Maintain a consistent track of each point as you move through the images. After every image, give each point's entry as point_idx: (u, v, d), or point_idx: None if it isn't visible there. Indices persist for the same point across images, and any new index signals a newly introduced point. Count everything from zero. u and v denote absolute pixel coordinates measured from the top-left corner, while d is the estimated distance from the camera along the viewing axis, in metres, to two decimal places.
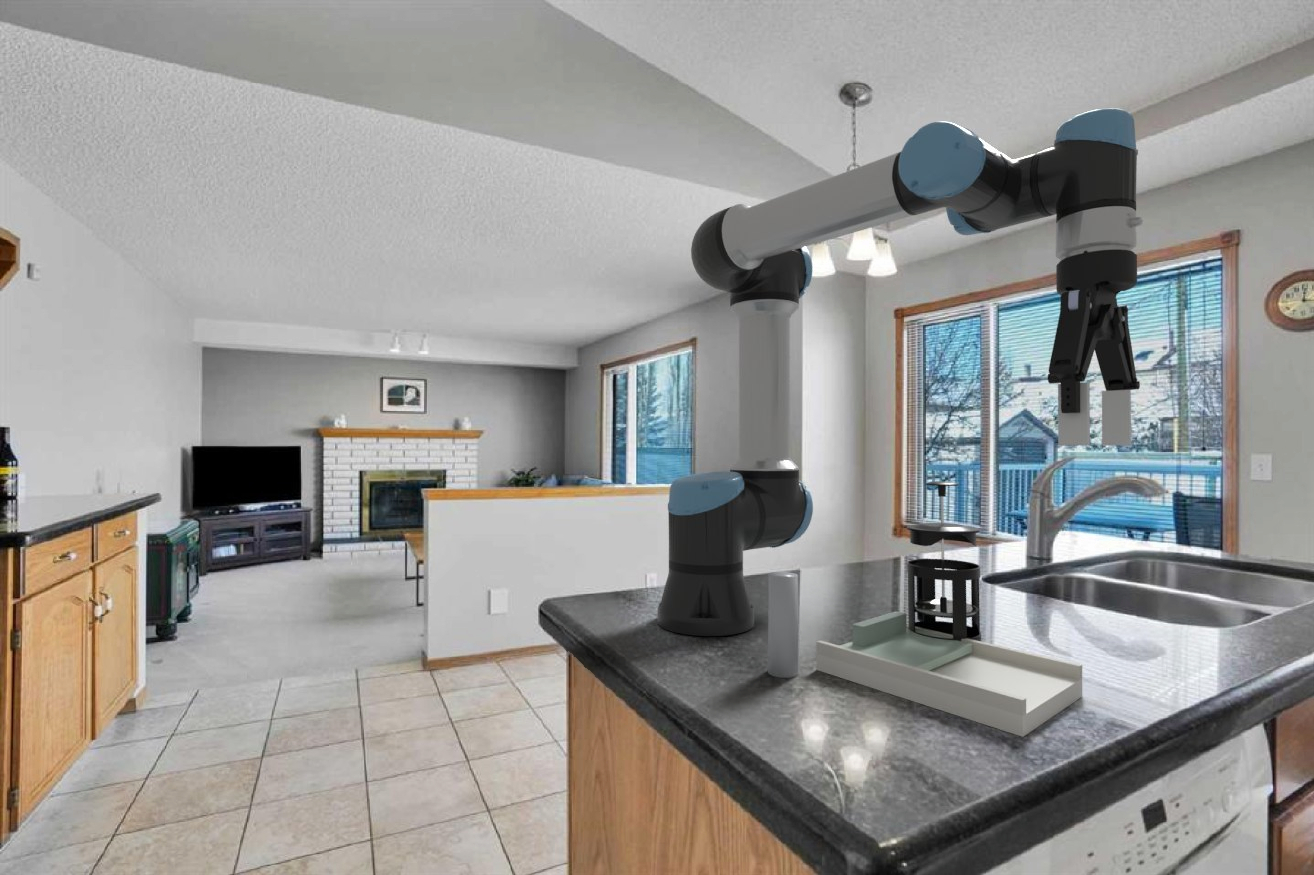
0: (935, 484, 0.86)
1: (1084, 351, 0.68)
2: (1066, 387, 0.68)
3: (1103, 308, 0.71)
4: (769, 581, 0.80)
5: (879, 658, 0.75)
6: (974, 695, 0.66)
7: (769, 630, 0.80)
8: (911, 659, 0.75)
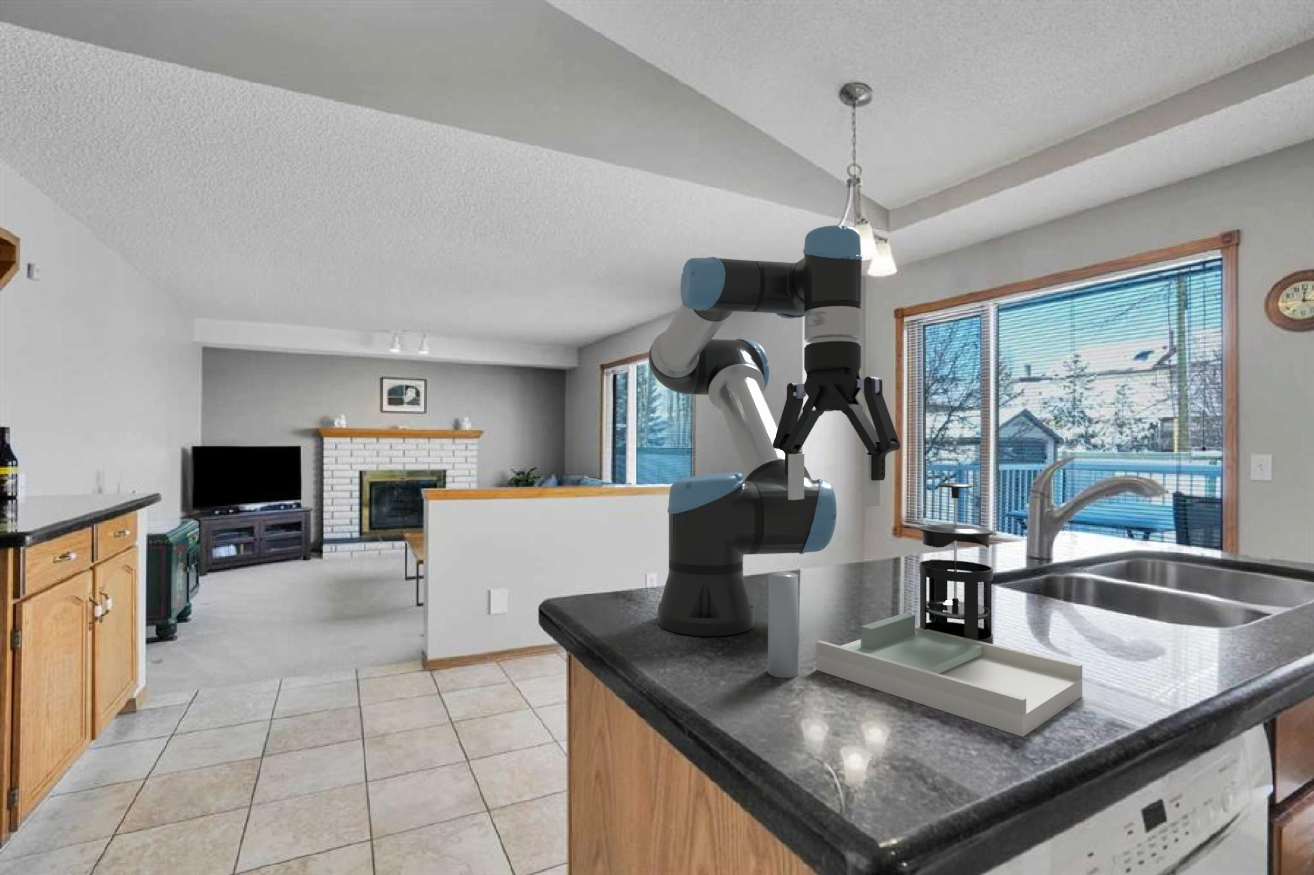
0: (949, 486, 0.86)
1: None
2: None
3: None
4: (769, 581, 0.80)
5: (879, 658, 0.75)
6: (974, 695, 0.66)
7: (769, 630, 0.80)
8: (921, 661, 0.74)
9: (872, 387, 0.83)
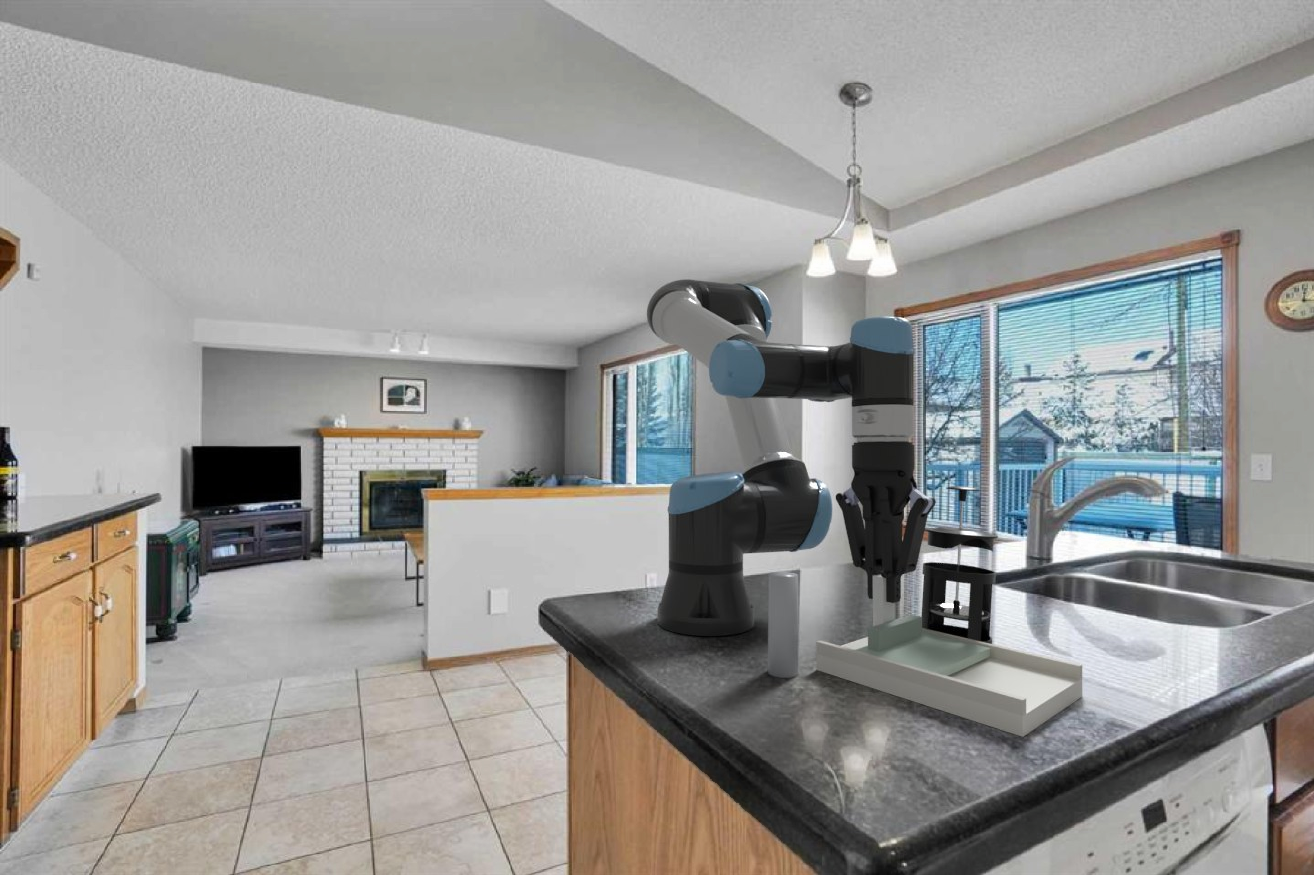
0: (958, 488, 0.87)
1: None
2: None
3: None
4: (769, 581, 0.80)
5: (879, 658, 0.75)
6: (974, 695, 0.66)
7: (769, 630, 0.80)
8: (929, 664, 0.73)
9: (921, 511, 0.78)
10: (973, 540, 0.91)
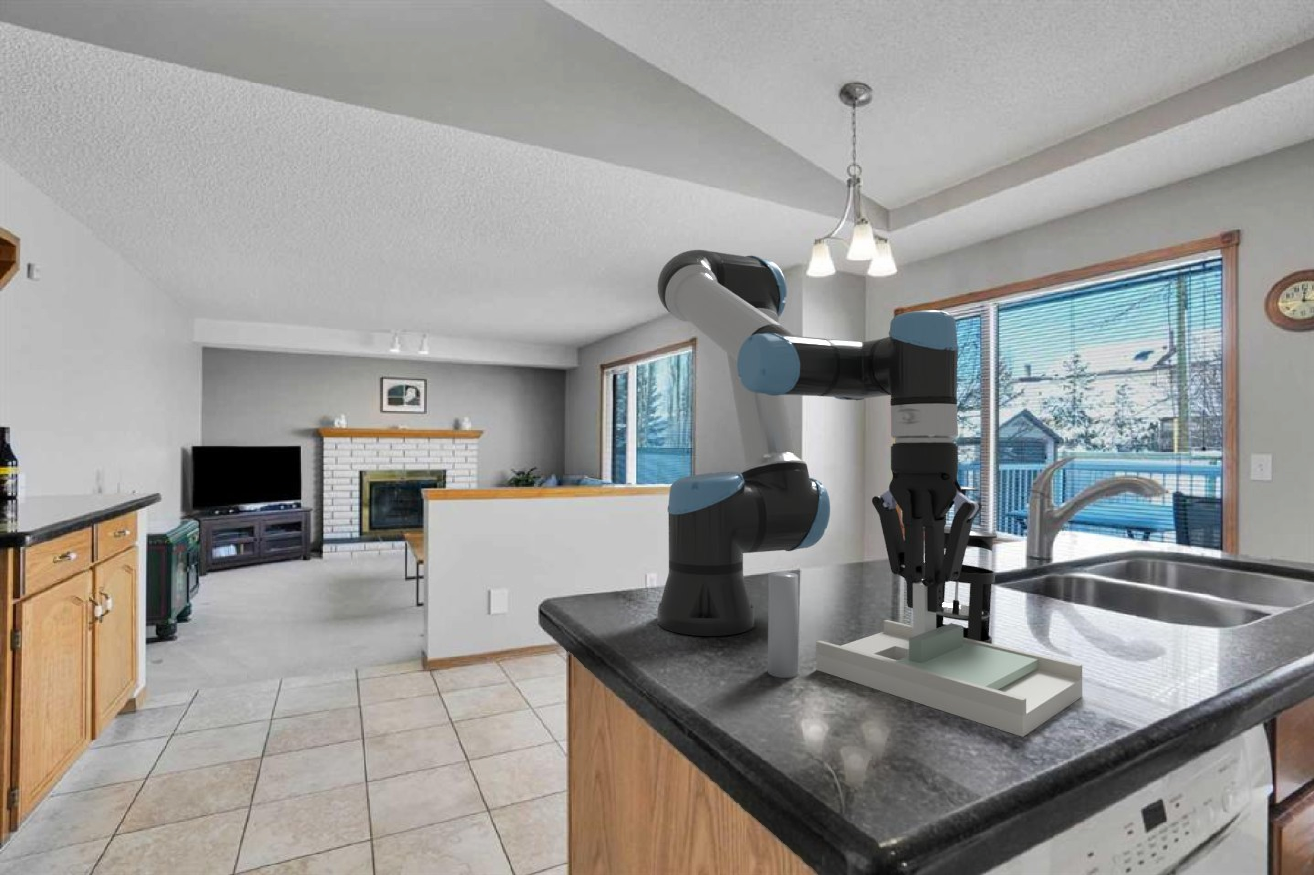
0: None
1: None
2: None
3: None
4: (769, 581, 0.80)
5: (879, 658, 0.75)
6: (974, 695, 0.66)
7: (769, 630, 0.80)
8: (977, 677, 0.69)
9: (967, 516, 0.74)
10: (972, 540, 0.91)
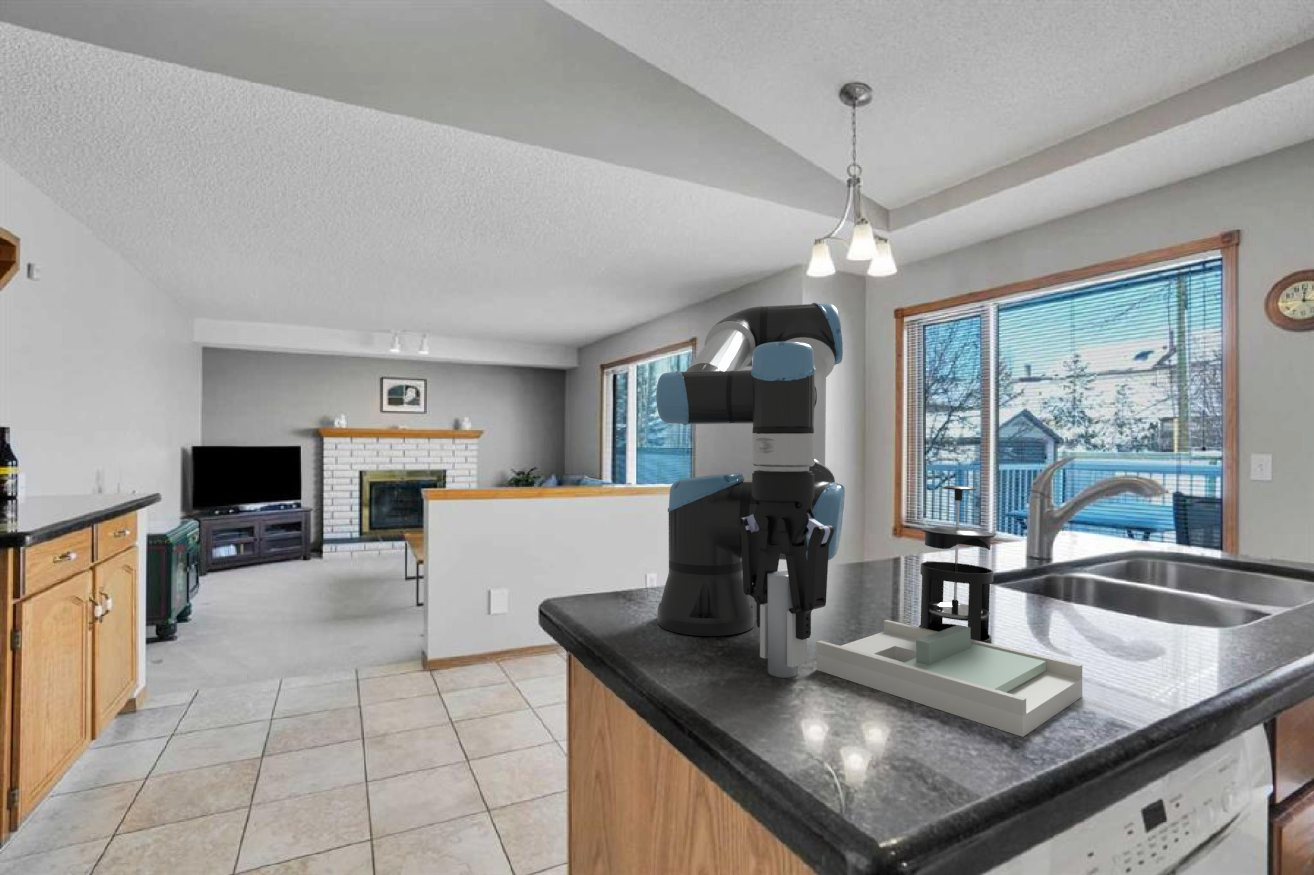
0: (954, 488, 0.87)
1: None
2: None
3: None
4: (768, 581, 0.80)
5: (879, 658, 0.75)
6: (974, 695, 0.66)
7: (769, 630, 0.80)
8: (985, 679, 0.69)
9: (819, 540, 0.75)
10: (969, 538, 0.91)
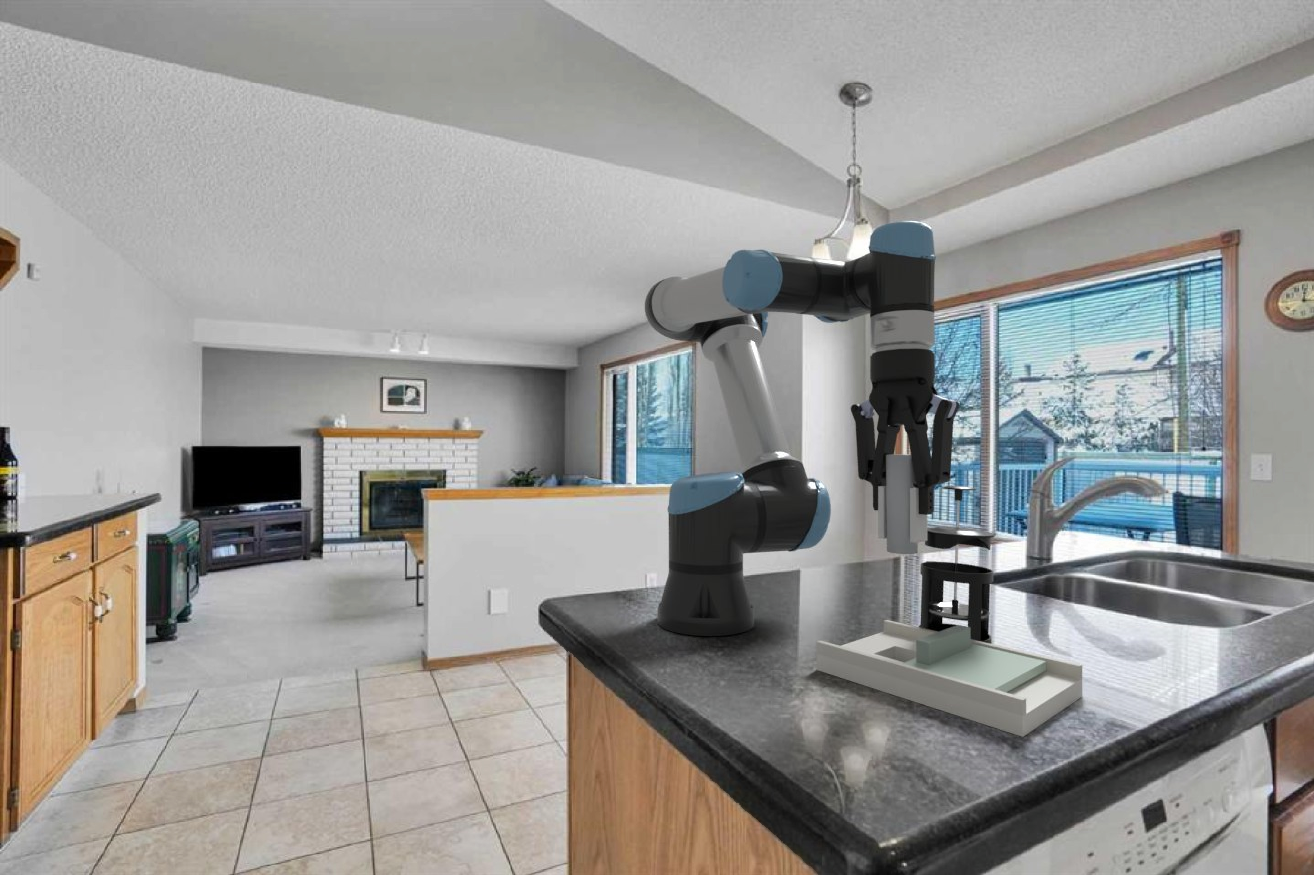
0: (954, 488, 0.87)
1: None
2: None
3: None
4: (888, 460, 0.80)
5: (879, 658, 0.75)
6: (974, 695, 0.66)
7: (889, 509, 0.80)
8: (985, 679, 0.69)
9: (946, 413, 0.76)
10: (969, 538, 0.91)
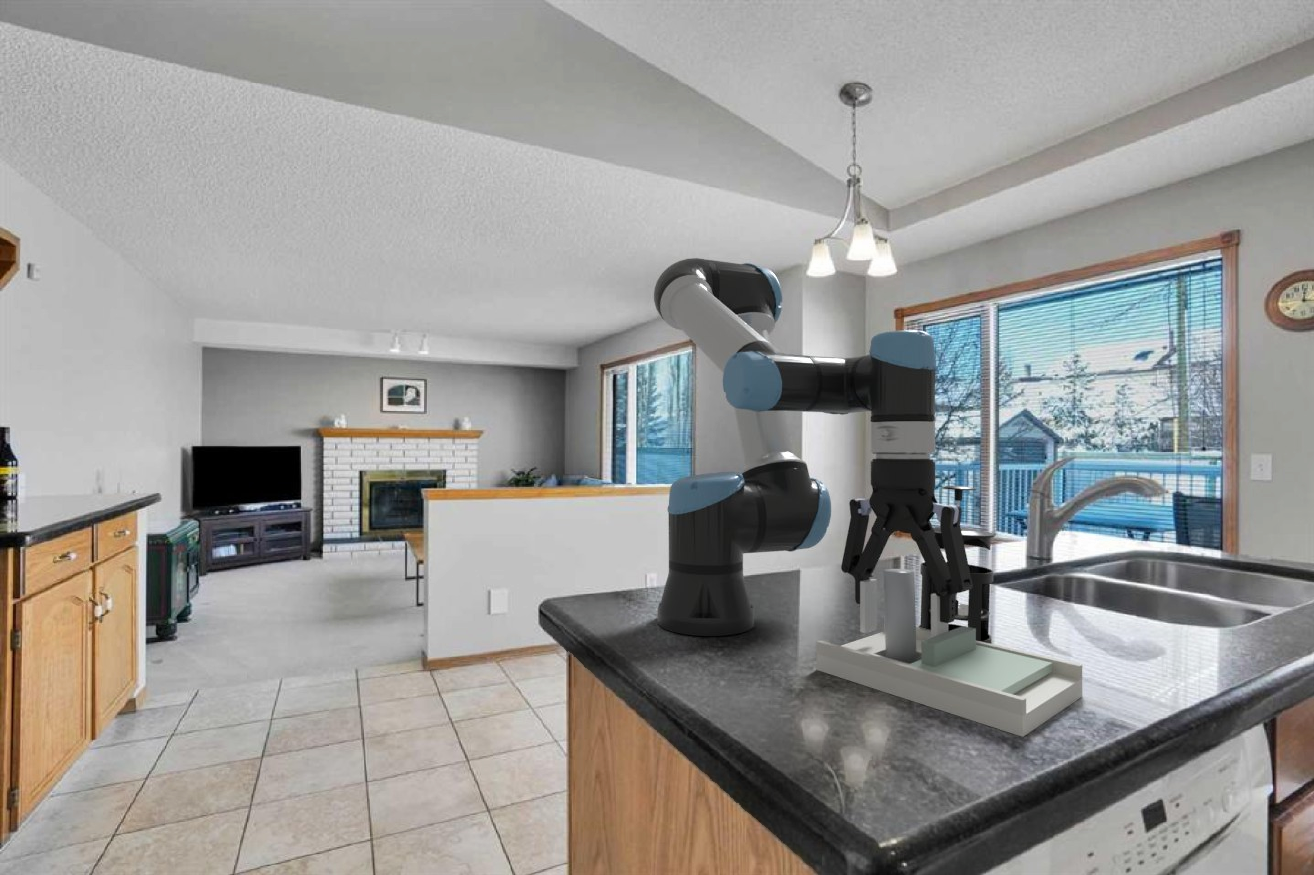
0: (954, 488, 0.87)
1: None
2: None
3: None
4: (886, 578, 0.81)
5: (879, 658, 0.75)
6: (974, 695, 0.66)
7: (887, 626, 0.80)
8: (991, 681, 0.68)
9: (951, 519, 0.75)
10: (969, 538, 0.91)
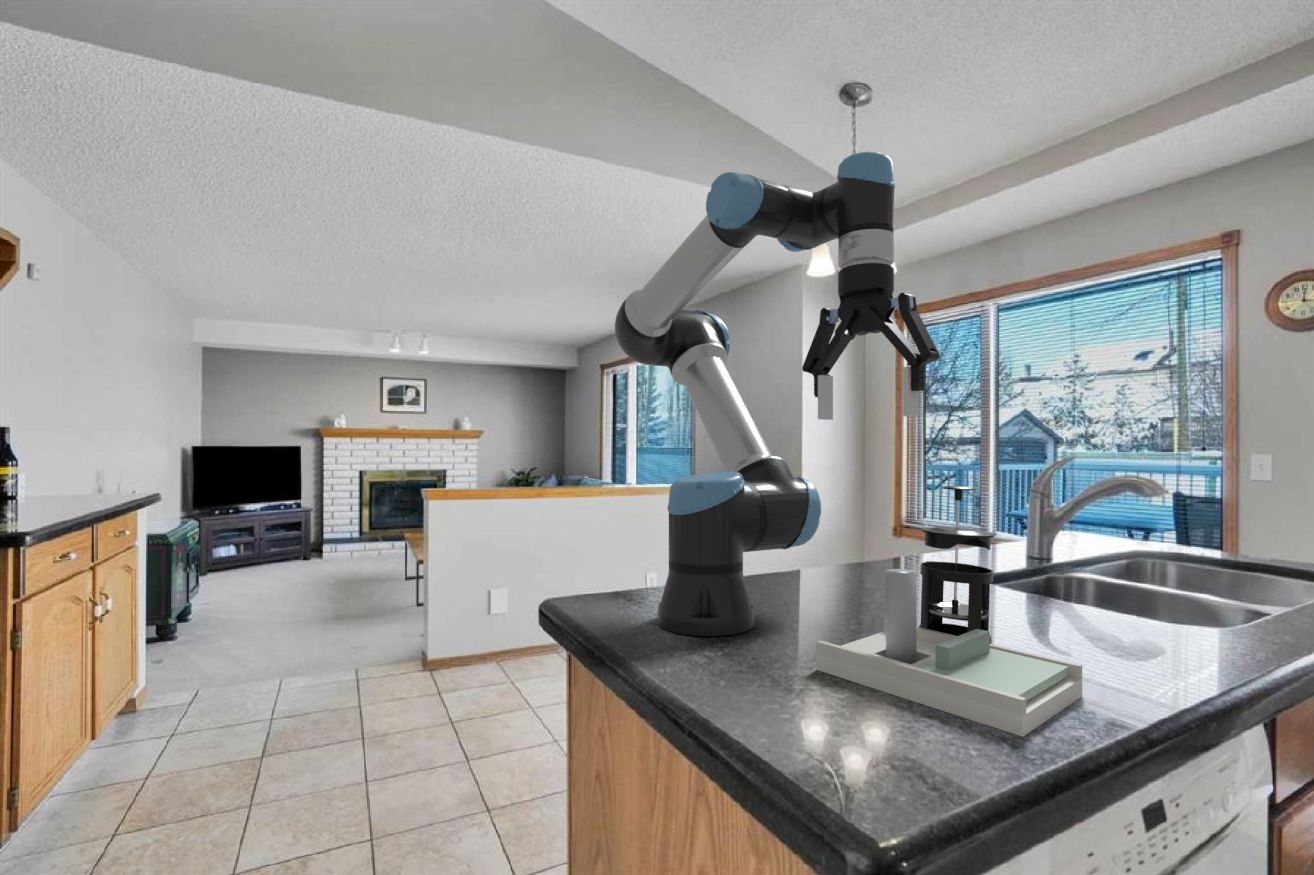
0: (954, 488, 0.87)
1: None
2: None
3: None
4: (887, 578, 0.81)
5: (879, 658, 0.75)
6: (974, 695, 0.66)
7: (888, 626, 0.80)
8: (1008, 685, 0.67)
9: (907, 302, 0.86)
10: (969, 538, 0.91)
